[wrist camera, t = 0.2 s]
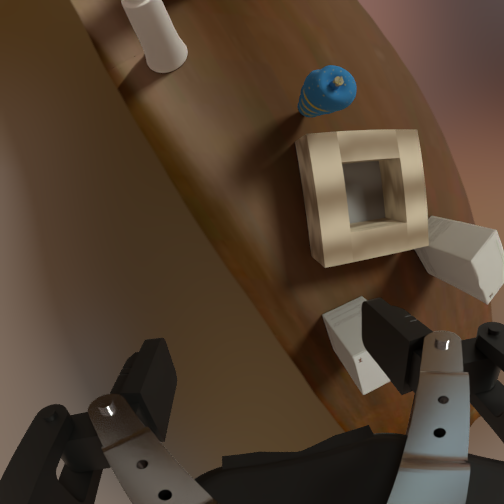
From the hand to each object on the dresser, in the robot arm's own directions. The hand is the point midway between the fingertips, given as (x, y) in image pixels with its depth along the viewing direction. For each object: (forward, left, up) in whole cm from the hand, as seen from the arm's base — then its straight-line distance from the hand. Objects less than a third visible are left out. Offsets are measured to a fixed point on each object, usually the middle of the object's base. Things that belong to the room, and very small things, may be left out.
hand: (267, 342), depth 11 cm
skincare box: (+7, +30, -30) cm, 43 cm away
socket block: (-3, +17, -29) cm, 34 cm away
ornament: (-15, +11, -30) cm, 35 cm away
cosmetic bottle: (-27, -6, -30) cm, 41 cm away
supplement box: (+17, +14, -30) cm, 37 cm away
